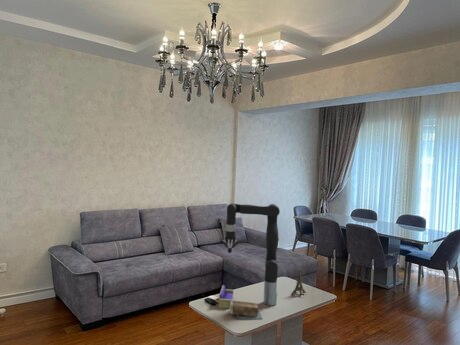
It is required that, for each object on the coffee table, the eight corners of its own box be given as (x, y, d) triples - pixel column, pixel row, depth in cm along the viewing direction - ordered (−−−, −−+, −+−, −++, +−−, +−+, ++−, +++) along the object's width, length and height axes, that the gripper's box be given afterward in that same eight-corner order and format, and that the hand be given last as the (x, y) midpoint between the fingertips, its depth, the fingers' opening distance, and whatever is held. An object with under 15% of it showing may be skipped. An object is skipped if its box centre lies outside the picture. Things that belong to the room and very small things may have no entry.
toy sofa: (230, 309, 248) (230, 295, 248) (218, 308, 249) (219, 294, 249) (233, 298, 269) (233, 285, 269) (222, 297, 270) (223, 284, 270)
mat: (258, 310, 248) (258, 308, 248) (262, 319, 234) (262, 316, 234) (234, 310, 246) (234, 307, 246) (237, 319, 232) (237, 316, 232)
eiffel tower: (290, 294, 282) (291, 264, 282) (295, 291, 291) (296, 261, 291) (302, 297, 277) (304, 266, 276) (307, 294, 286) (308, 264, 285)
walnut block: (230, 308, 243) (255, 311, 244) (231, 313, 235) (257, 316, 236) (231, 300, 243) (256, 303, 244) (232, 305, 235) (258, 307, 236)
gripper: (238, 229, 266) (237, 251, 266) (221, 229, 264) (220, 251, 265) (239, 231, 258) (238, 254, 259) (222, 230, 257) (221, 253, 257)
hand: (229, 252), depth 262 cm, fingers closed
